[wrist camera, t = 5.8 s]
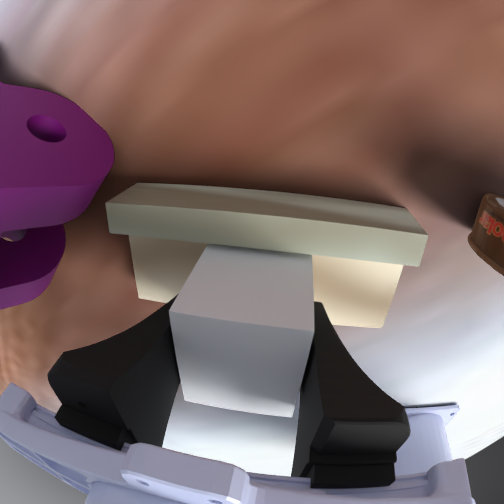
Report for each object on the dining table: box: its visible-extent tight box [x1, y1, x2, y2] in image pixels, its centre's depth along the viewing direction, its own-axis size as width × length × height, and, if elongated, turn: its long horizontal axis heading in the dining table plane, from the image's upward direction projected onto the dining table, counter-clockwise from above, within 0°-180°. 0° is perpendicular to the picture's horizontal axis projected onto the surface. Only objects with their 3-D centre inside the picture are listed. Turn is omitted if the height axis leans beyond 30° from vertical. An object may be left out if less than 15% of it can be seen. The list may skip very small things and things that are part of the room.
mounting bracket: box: [0, 82, 114, 309], centre depth 14 cm, size 10×8×18 cm
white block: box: [169, 243, 314, 417], centre depth 13 cm, size 6×4×6 cm
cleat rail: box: [105, 183, 428, 328], centre depth 15 cm, size 6×14×3 cm, turn 87°
